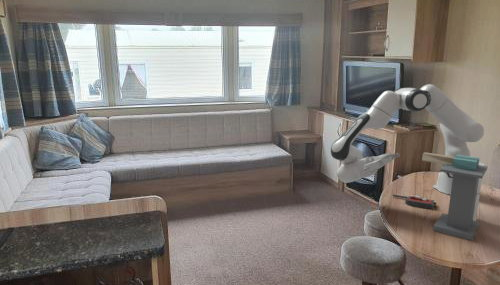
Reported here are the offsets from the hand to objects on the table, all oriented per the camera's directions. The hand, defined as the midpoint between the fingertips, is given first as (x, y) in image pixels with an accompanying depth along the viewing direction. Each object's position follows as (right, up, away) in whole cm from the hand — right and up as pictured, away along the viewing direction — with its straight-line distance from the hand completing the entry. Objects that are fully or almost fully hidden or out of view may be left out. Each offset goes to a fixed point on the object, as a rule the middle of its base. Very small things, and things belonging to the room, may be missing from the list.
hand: (395, 156), depth 169 cm
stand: (+19, -29, -14) cm, 38 cm away
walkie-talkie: (+13, -24, +13) cm, 30 cm away
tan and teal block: (+16, -3, -15) cm, 22 cm away
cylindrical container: (+29, -27, -4) cm, 40 cm away
